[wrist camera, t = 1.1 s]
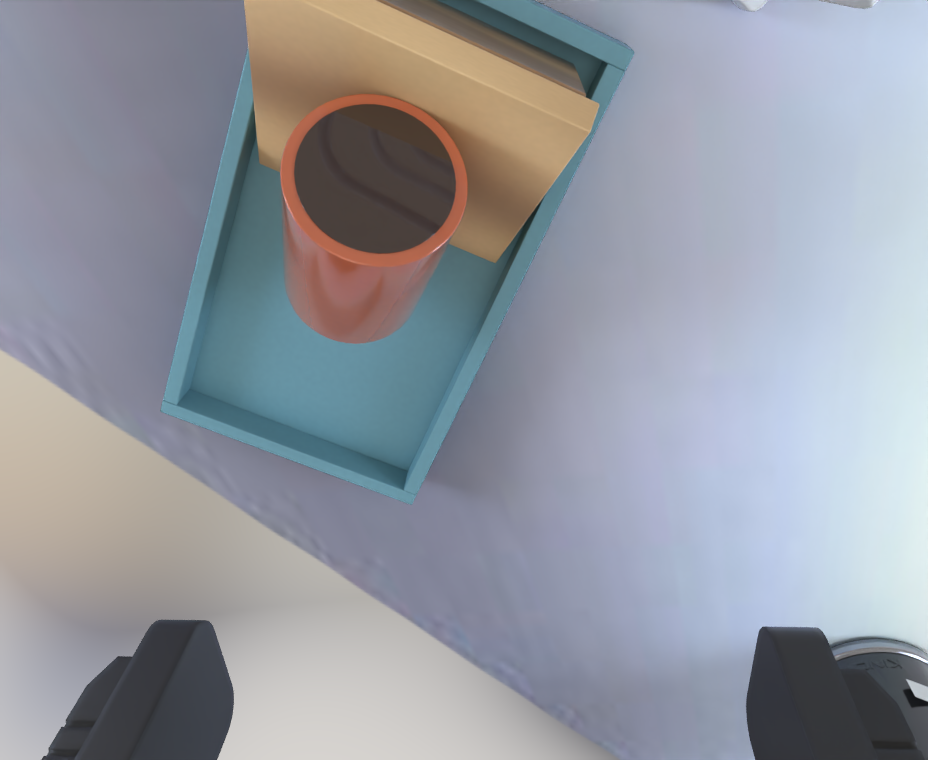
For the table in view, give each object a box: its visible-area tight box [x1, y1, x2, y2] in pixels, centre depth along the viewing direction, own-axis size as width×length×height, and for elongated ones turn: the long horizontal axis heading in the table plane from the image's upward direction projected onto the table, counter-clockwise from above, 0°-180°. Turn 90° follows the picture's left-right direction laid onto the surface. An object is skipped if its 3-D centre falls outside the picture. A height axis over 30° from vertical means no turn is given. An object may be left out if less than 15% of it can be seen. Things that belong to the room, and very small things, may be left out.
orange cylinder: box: [280, 94, 468, 344], centre depth 30 cm, size 12×6×12 cm, turn 157°
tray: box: [160, 0, 634, 505], centre depth 36 cm, size 26×15×3 cm, turn 157°
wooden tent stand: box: [244, 0, 599, 263], centre depth 30 cm, size 10×12×9 cm
